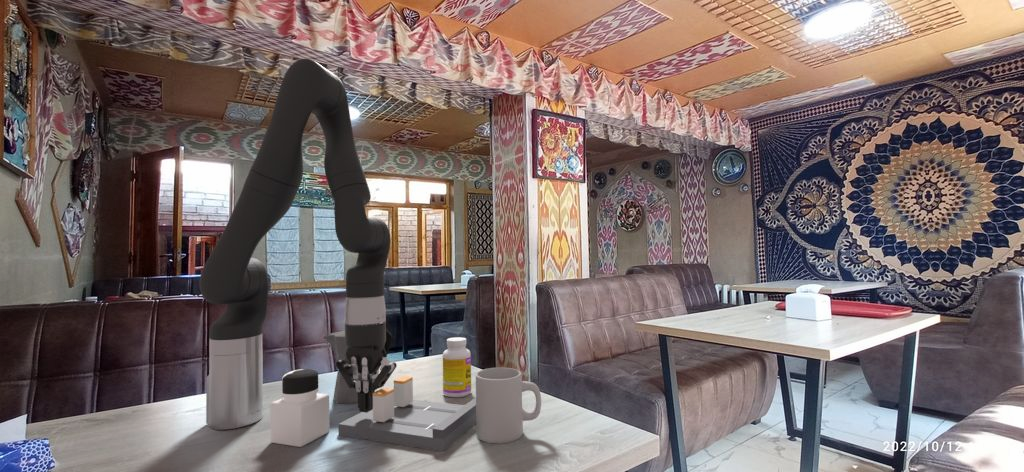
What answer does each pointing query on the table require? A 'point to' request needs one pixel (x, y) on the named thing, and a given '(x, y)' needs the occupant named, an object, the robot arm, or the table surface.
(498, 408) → the mug
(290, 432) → the medicine bottle
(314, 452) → the table surface
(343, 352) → the coffeepot
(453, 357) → the supplement bottle
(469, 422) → the console
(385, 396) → the fader near
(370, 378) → the robot arm
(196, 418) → the table surface
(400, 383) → the fader far
